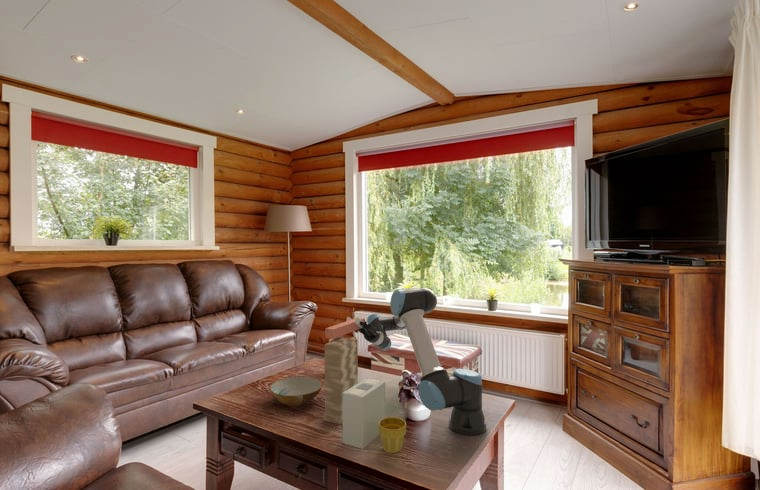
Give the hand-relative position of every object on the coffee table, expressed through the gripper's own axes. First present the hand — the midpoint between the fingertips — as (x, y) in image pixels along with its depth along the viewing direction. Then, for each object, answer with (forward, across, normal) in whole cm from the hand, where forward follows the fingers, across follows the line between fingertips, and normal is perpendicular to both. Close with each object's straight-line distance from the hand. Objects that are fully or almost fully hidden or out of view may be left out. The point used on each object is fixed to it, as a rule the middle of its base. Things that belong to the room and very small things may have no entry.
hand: (351, 319), depth 185 cm
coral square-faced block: (+1, 0, -6) cm, 6 cm away
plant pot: (-1, -32, -47) cm, 57 cm away
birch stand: (-13, 0, -40) cm, 42 cm away
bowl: (-15, +28, -39) cm, 50 cm away
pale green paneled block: (-4, -18, -45) cm, 49 cm away
